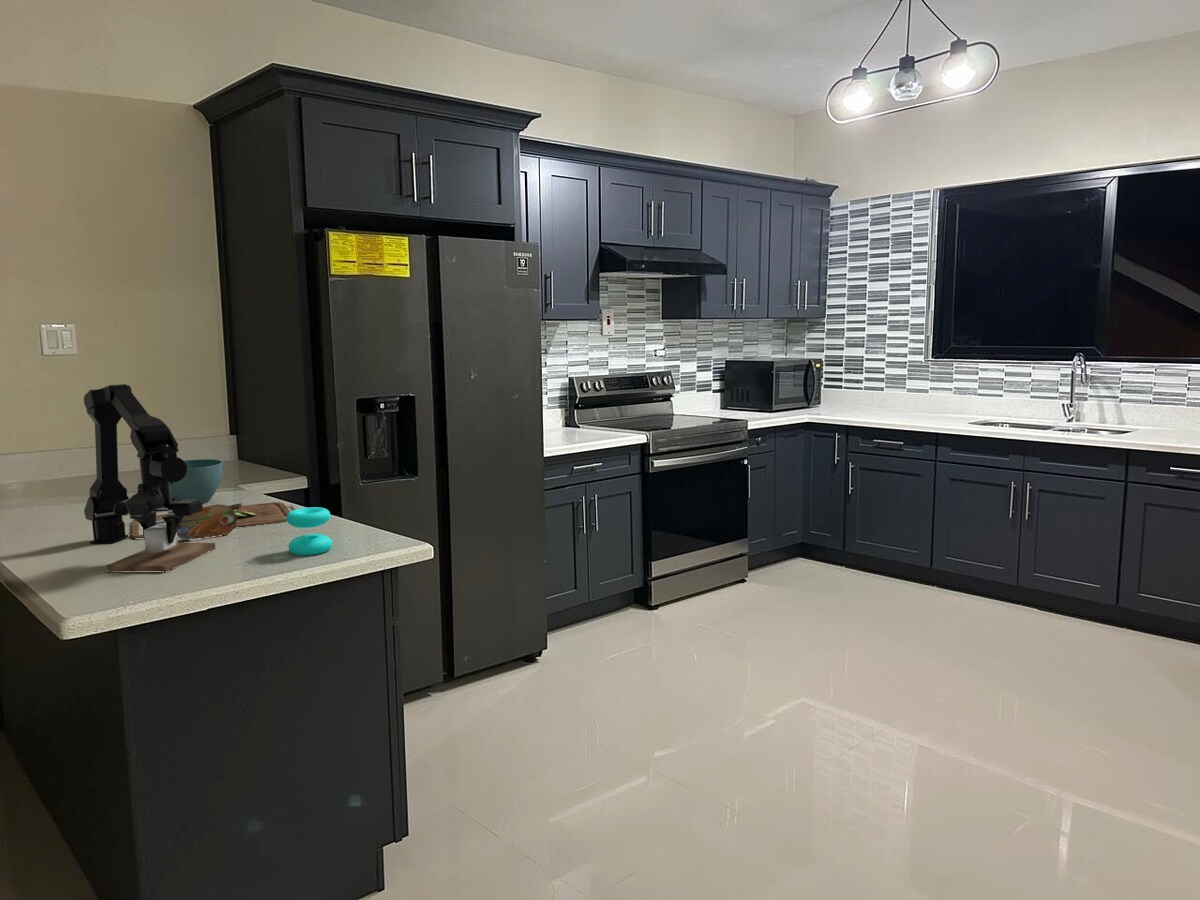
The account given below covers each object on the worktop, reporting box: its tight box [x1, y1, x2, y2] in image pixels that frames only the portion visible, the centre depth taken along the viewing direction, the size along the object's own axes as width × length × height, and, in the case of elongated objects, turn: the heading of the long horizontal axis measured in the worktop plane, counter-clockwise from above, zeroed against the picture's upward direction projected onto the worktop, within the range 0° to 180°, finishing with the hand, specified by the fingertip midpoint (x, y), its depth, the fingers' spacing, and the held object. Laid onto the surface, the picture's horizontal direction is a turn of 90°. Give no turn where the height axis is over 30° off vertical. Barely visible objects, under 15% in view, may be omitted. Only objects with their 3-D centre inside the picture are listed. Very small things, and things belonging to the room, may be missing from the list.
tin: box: [177, 503, 237, 541], centre depth 221 cm, size 15×3×8 cm, turn 126°
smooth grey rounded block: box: [144, 523, 179, 553], centre depth 200 cm, size 4×9×5 cm, turn 174°
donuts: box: [286, 506, 333, 556], centre depth 205 cm, size 10×10×10 cm
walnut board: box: [106, 542, 216, 573], centre depth 201 cm, size 14×20×2 cm
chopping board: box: [124, 501, 297, 539], centre depth 241 cm, size 45×27×3 cm, turn 118°
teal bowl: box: [170, 458, 224, 504], centre depth 265 cm, size 18×18×12 cm
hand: (161, 543), depth 200 cm, fingers closed on smooth grey rounded block, 4 cm apart
